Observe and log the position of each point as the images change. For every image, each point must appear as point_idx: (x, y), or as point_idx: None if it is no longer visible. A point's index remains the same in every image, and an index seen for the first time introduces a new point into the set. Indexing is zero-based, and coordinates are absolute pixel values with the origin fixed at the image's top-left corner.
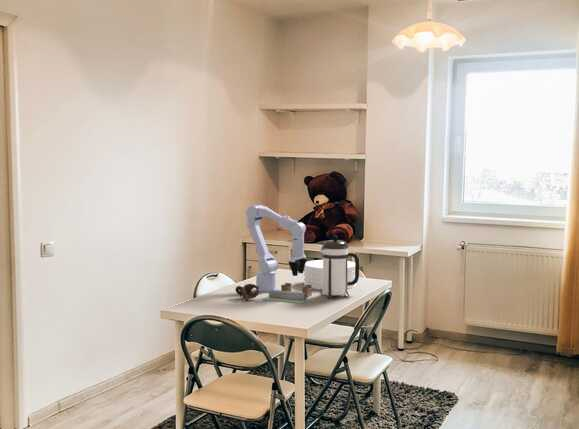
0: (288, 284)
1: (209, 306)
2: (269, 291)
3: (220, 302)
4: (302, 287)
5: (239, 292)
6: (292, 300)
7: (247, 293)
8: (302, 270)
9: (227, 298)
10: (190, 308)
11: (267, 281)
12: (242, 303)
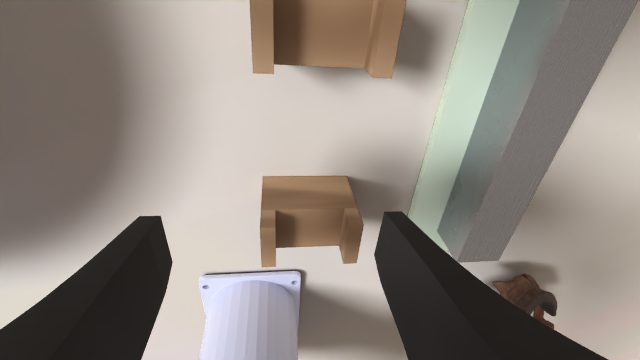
0: (275, 235)
1: (606, 332)
2: (498, 255)
3: None
4: (389, 69)
5: None
6: None
7: None
8: (143, 251)
9: None
10: (624, 353)
11: (296, 353)
12: (570, 277)
